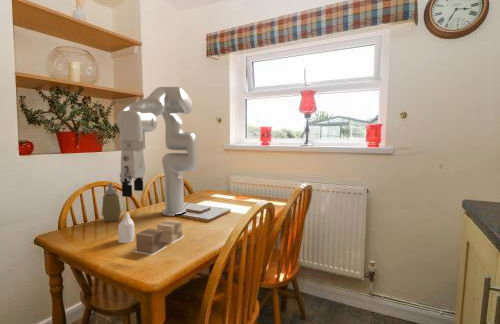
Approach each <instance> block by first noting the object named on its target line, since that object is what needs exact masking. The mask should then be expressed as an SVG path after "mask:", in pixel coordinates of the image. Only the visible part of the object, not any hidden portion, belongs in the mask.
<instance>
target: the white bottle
mask: <svg viewBox="0 0 500 324" xmlns="http://www.w3.org/2000/svg"><path fill="white" fill-rule="evenodd" d="M117 228H118V229H117V233H118V234H117V235H118V238H117V239H118V240H117V241H118V243H120V244H127V243H132V242H133V241H134V240H135V223H134V221H133V219H132V218H131V216H130V213H129V212H126V213H125V214H124V217H123V218H122V220H121V221H120V223H118V226H117Z"/></svg>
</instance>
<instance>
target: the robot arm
mask: <svg viewBox="0 0 500 324" xmlns="http://www.w3.org/2000/svg"><path fill="white" fill-rule="evenodd" d="M192 111H193V101H192V98H191V97H190V96H189V94H188V93H187V91H185V90H184V89H183V88H182V87H179V86H159V87H156V88H155V89H154V90H153V91H152V92H151V93H150V94H149V95H148V96H147V97H145V98H143V99H140V100H138V101H135V102H132V103H130V104H128V105H126V106H124V107H123V108H122V109H121V110H120V112H118V114H117V116H116V126H117V127H118V129H119V148H120V151H121V153H120V154H121V155H120V173H119V179H120V180H119V181H120V186H121V192H122V194H121V196H122V197H125V198H126V197H127V198H129V197H130V198H131V197H133V191H136V192H139V191H141V192H143V191H144V175H146V168H145V156H144V151H143V150H144V133H149V132H153V131H155V130H156V129H157V126H158V119H157V117H158V116H160V115H161V116H162V118H163V120H164V124H165V125H164V127H165V134H164V135H165V137H164V139H165V147H166V148H167V150H170V151H186V152H187V153H186V152H183V153H182V152H169V153H166V154H164V155H163V157H162V162H161V164H162V169H163V174H164V175H163V176H164V209H162V210H161V214H162V215H163V216H169V217H173V216H175V214H176V213H178V212H182V211H183V210H184V208H185V206H188V204H189V203H188V201H185V200H184V199H185V198H184V178H183V175H182V174H181V173H180V172H195V171H196V169H197V166H198V140H197V139H198V138H197V136H196V134H195V133H194V132H192V131H183V121H182V118H180V116H179V115H188V114H190V113H191V112H192ZM132 181H133V184H132ZM132 185H133V186H132ZM133 189H134V190H133ZM184 201H185V202H184Z"/></svg>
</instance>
